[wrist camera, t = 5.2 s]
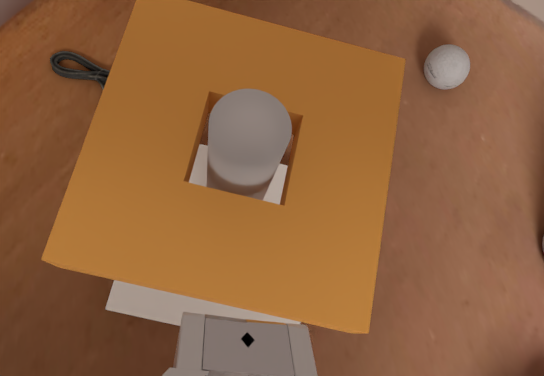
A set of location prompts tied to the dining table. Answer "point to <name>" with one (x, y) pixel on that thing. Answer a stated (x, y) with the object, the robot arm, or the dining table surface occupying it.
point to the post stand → (227, 177)
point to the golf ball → (446, 66)
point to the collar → (224, 205)
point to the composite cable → (94, 74)
